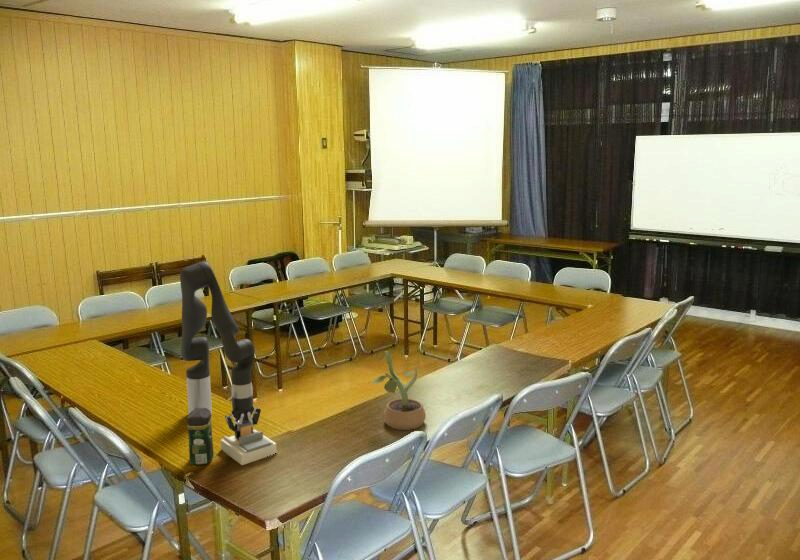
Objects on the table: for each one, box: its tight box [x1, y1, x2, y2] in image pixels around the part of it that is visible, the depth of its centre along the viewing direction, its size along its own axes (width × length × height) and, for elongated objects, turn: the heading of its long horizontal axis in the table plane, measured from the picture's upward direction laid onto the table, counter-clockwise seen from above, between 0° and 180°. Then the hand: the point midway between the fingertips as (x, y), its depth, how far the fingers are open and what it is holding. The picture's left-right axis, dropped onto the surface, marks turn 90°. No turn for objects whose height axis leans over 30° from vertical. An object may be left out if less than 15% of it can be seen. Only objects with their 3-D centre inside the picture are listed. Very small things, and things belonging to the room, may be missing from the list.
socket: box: [220, 429, 278, 466], centre depth 250 cm, size 16×14×5 cm
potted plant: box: [370, 350, 427, 431], centre depth 274 cm, size 22×18×30 cm
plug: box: [237, 420, 252, 442], centre depth 251 cm, size 4×4×9 cm
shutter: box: [239, 430, 270, 452], centre depth 245 cm, size 6×9×3 cm
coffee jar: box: [186, 408, 214, 466], centre depth 242 cm, size 10×8×19 cm
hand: (244, 437), depth 252 cm, fingers closed on plug, 4 cm apart
